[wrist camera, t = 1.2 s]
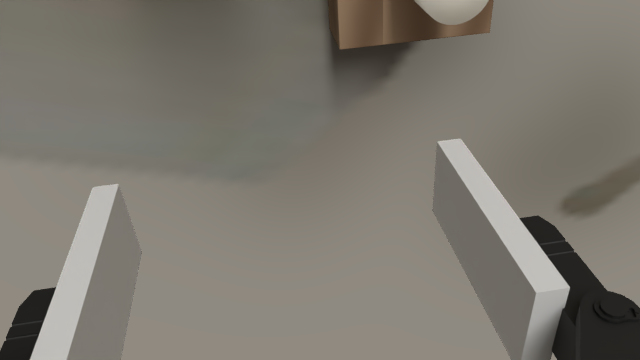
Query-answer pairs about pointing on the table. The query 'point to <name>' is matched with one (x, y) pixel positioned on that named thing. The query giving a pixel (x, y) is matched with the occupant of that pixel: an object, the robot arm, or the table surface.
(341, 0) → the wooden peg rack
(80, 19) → the table surface
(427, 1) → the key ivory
